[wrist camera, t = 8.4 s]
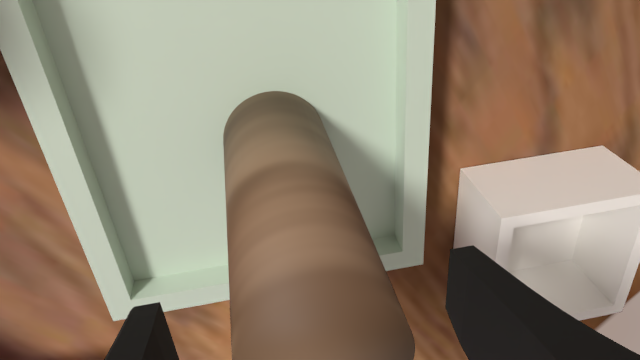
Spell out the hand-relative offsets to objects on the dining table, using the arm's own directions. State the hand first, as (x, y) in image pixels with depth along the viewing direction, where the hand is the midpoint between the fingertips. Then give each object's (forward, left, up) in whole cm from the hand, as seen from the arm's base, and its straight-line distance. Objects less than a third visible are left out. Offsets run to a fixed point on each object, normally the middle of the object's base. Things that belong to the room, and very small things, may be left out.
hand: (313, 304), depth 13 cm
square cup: (-7, -12, -10) cm, 17 cm away
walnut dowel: (0, 0, -9) cm, 9 cm away
